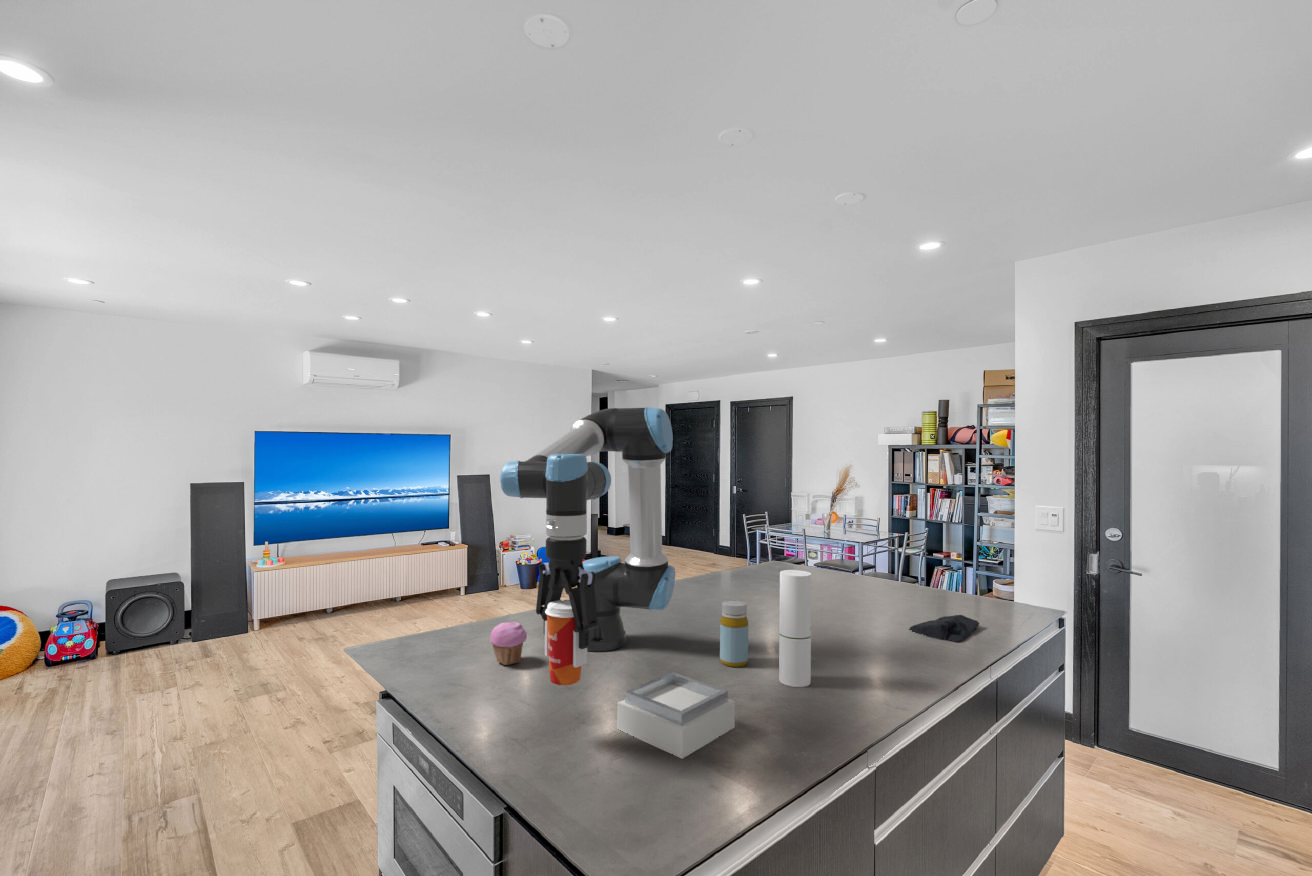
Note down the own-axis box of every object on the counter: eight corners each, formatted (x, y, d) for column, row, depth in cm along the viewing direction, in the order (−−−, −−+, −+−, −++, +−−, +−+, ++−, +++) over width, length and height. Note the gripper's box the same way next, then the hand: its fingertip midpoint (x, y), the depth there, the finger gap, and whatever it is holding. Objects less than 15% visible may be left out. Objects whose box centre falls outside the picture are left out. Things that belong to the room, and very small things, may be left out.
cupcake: (532, 662, 148) (533, 622, 148) (502, 671, 141) (503, 629, 141) (512, 654, 154) (513, 615, 154) (482, 662, 147) (483, 622, 147)
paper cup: (546, 671, 114) (547, 598, 114) (586, 670, 114) (587, 598, 114) (542, 688, 106) (542, 610, 106) (585, 687, 107) (586, 609, 107)
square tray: (617, 728, 113) (617, 691, 113) (671, 702, 125) (671, 669, 125) (682, 758, 102) (682, 717, 102) (734, 727, 114) (735, 690, 114)
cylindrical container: (811, 677, 140) (812, 571, 140) (809, 688, 133) (809, 577, 134) (781, 673, 142) (781, 568, 143) (777, 684, 135) (777, 574, 136)
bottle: (747, 668, 145) (747, 607, 145) (718, 666, 146) (719, 605, 147) (748, 659, 152) (749, 600, 152) (721, 656, 153) (721, 598, 153)
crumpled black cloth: (988, 631, 180) (988, 615, 180) (957, 645, 166) (957, 628, 166) (938, 619, 192) (938, 605, 192) (904, 632, 177) (904, 616, 178)
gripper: (517, 532, 114) (516, 651, 114) (587, 546, 101) (586, 680, 101) (548, 528, 120) (547, 641, 120) (619, 540, 106) (618, 667, 106)
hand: (565, 659), depth 110 cm, fingers closed on paper cup, 8 cm apart
